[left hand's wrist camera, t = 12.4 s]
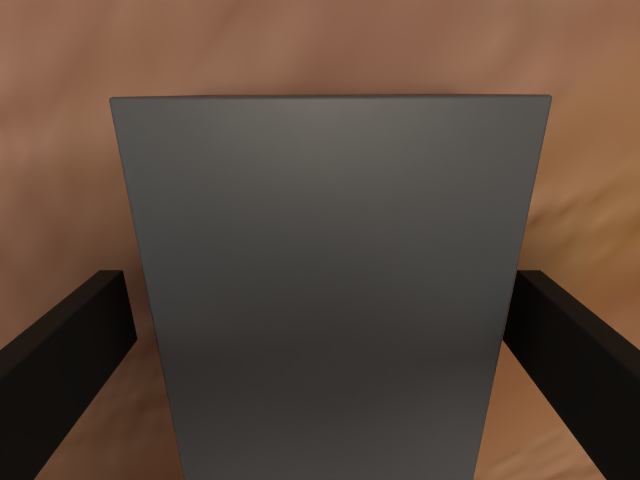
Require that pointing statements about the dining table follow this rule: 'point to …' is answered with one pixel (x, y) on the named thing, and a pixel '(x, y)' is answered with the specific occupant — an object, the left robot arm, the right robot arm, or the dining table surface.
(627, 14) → the dining table surface
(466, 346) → the slab
